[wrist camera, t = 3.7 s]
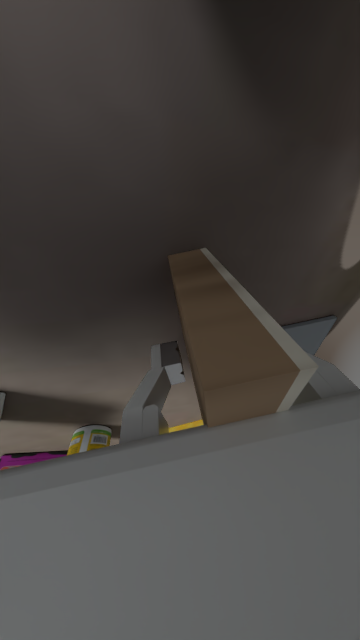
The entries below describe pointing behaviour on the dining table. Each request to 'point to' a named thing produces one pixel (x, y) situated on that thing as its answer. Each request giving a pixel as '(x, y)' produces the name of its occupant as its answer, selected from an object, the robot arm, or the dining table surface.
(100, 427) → the supplement bottle
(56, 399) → the dining table surface
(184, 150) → the dining table surface
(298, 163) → the dining table surface
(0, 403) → the supplement box
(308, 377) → the slab
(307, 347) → the mat
